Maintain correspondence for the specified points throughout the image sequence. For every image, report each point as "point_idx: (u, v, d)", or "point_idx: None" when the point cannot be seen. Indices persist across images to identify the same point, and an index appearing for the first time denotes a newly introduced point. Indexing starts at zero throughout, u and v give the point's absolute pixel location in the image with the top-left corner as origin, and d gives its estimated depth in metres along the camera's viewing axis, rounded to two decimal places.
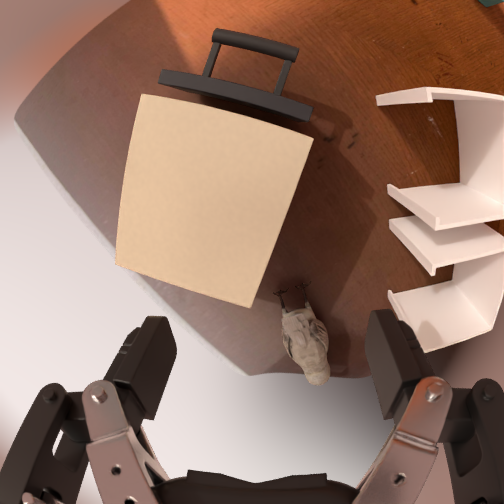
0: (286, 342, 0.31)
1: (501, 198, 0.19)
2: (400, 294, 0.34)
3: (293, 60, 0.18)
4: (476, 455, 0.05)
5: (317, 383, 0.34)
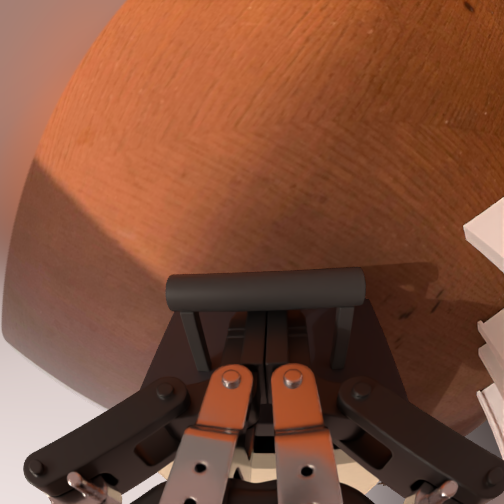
0: None
1: None
2: (489, 389, 0.21)
3: (357, 305, 0.10)
4: None
5: None
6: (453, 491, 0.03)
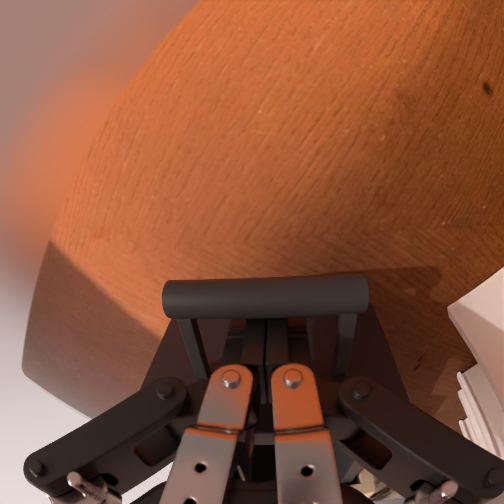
0: None
1: None
2: None
3: None
4: None
5: None
6: (453, 491, 0.03)
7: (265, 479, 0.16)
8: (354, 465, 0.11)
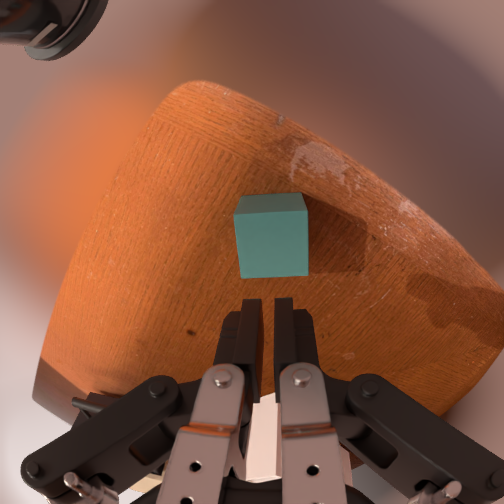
0: None
1: None
2: None
3: None
4: None
5: None
6: (457, 491, 0.03)
7: None
8: None
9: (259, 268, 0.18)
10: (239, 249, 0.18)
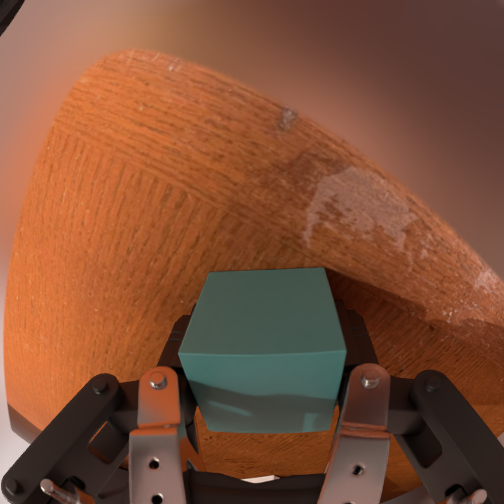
0: None
1: None
2: None
3: None
4: (436, 443, 0.06)
5: None
6: (481, 501, 0.02)
7: None
8: None
9: (240, 424, 0.08)
10: (199, 401, 0.08)
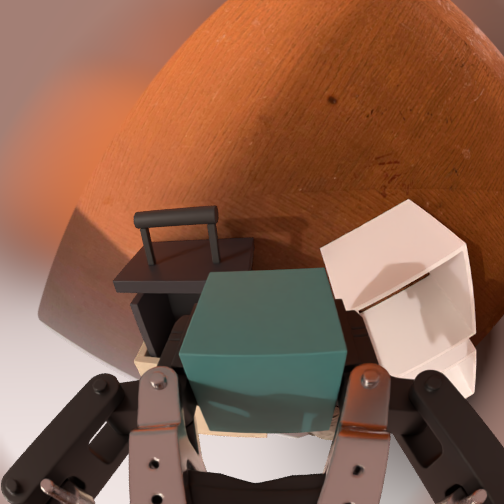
0: (307, 432, 0.36)
1: (461, 313, 0.22)
2: None
3: (214, 223, 0.22)
4: (436, 442, 0.06)
5: None
6: (481, 500, 0.02)
7: None
8: None
9: (240, 424, 0.08)
10: (200, 402, 0.08)
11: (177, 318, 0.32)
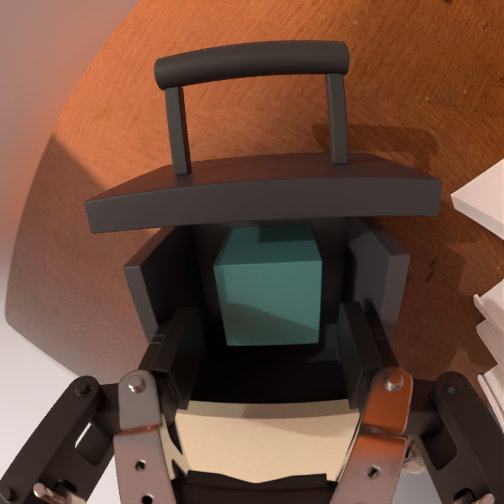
0: None
1: None
2: (490, 373, 0.22)
3: (344, 71, 0.08)
4: (451, 446, 0.05)
5: (419, 472, 0.23)
6: None
7: None
8: None
9: (251, 334, 0.13)
10: (223, 311, 0.12)
11: (214, 314, 0.18)
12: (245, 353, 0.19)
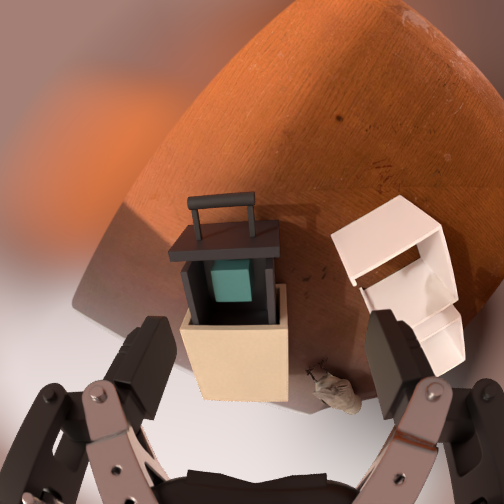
0: (320, 400, 0.43)
1: (445, 284, 0.29)
2: None
3: None
4: (476, 455, 0.05)
5: (352, 413, 0.45)
6: None
7: None
8: (268, 293, 0.31)
9: (225, 297, 0.34)
10: (214, 287, 0.33)
11: (211, 291, 0.39)
12: (226, 311, 0.40)
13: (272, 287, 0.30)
